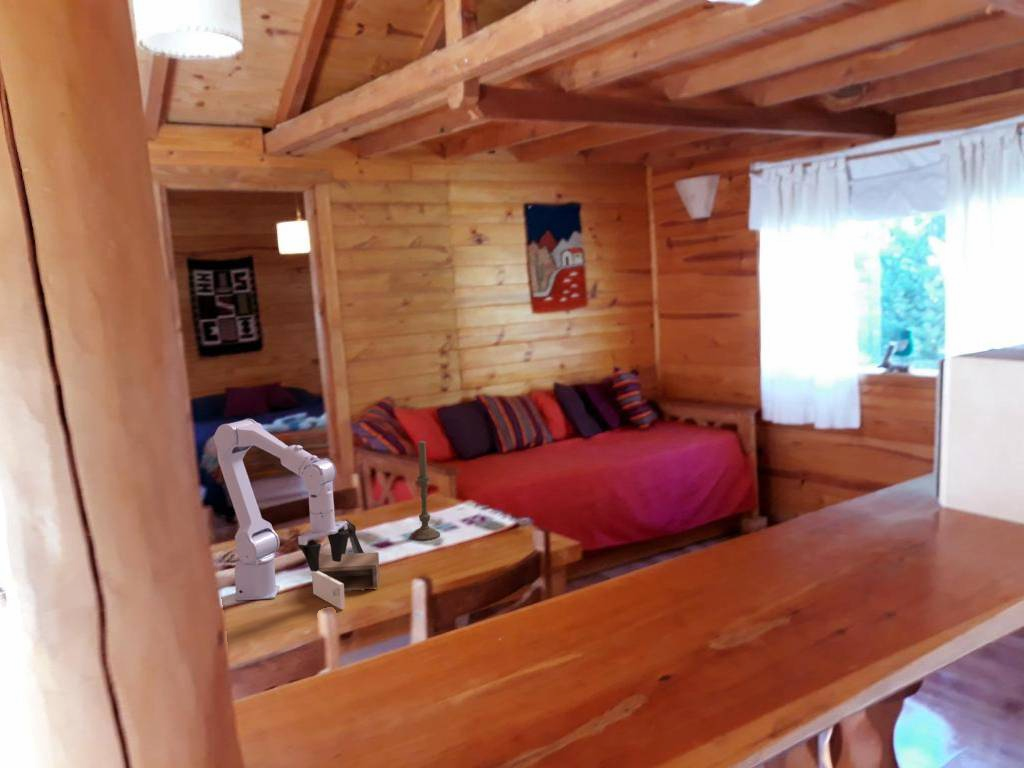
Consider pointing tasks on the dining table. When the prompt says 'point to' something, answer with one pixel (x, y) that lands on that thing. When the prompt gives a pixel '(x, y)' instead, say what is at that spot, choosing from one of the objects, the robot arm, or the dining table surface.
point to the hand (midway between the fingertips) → (325, 565)
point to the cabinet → (352, 570)
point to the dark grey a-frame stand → (352, 539)
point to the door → (328, 589)
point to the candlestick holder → (424, 500)
